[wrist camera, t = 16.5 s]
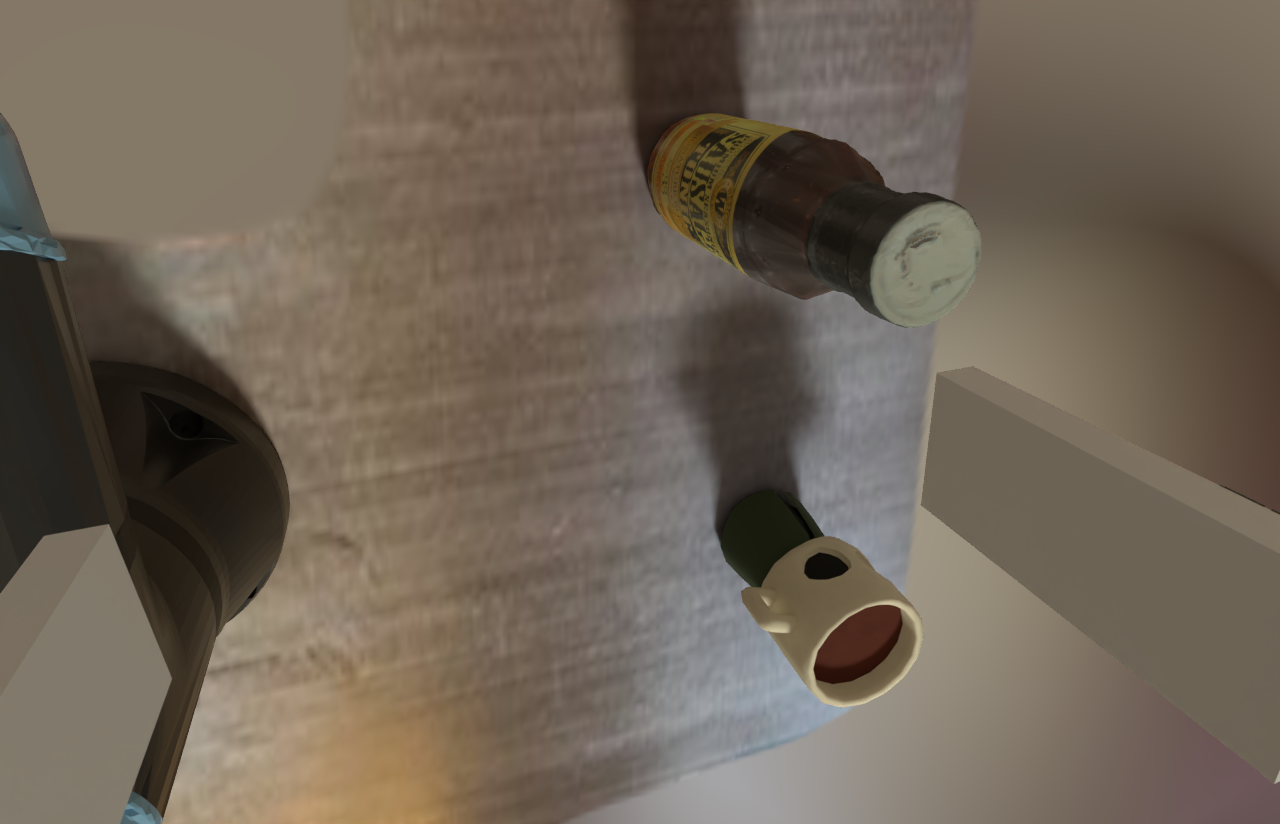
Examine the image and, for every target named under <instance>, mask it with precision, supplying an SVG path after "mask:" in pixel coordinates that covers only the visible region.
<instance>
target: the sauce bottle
mask: <svg viewBox="0 0 1280 824" xmlns="http://www.w3.org/2000/svg"><path fill="white" fill-rule="evenodd" d="M647 173H648V176H647V177H648V185H649V188H650V189H649V191H650V194H651V198H652V200H653V204H654V207H655V209H656V211H657V212H658V213H659V214H660V215H661V216H662V218H663V219H664V220H665V221H666V223H667V224H668V225H669V226H670V227H671V228H672V229H674V230H675V231H677V232H678V233H680V234H681V235H683V236H685V237H686V238H688V239H690V240H691V241H693V242H695V243H696V244H698V245H700V246H701V247H703V248H704V249H706V250H708V251H709V252H711V253H713V254H714V255H716V256H717V257H719V258H721V259H722V260H724V261H726V262H727V263H729V264H730V265H732V266H733V267H735V268H737V269H738V270H740V271H741V272H743V273H744V274H746V275H747V276H749V277H751V278H752V279H754V280H757V281H759V282H762V283H764V284H766V285H769V286H771V287H774V288H776V289H778V290H781V291H783V292H785V293H788V294H790V295H793V296H795V297H797V298H799V299H804V300H807V299H810V298H812V297H815V296H818V295H821V294H824V293H827V292H830V291H833V290H835V291H838V292H844V293H846V294H848V295H850V296H852V297H854V298H855V299H856V301H857V302H858V303H859V304H860V305H861V306H862V307H863V308H864V309H865V310H866V311H868V312H869V313H871V314H873V315H875V316H877V317H879V318H881V319H884V320H886V321H888V322H890V323H893V324H895V325H898V326H902V327H919V326H924V325H927V324H930V323H932V322H934V321H936V320H939V319H940V318H941V317H943V316H944V315H945V314H946V313H948V312H950V311H952V310H953V309H954V308H955V306H956V305H957V304H958V303H959V302H960V301H961V300H962V299H963V298H964V296H965V295H966V293H967V291H968V290H969V289H970V287H971V285H972V284H973V281H974V280H975V276H976V272H977V268H978V265H979V261H980V258H981V252H982V247H981V246H982V245H981V236H980V232H979V228H978V227H977V225H976V223H975V222H974V219H973V217H972V216H971V215H970V214H969V213H968V212H967V210H966V209H965V208H963V207H962V206H961V205H959V204H957V203H956V202H954V201H951V200H948V199H945V198H943V197H940V196H938V195H935V194H931V193H918V192H912V193H905V194H904V193H900V192H895V191H892V190H891V189H889V188H887V187H885V183H884V180H883V177H882V176H881V175H880V173H879V172H878V171H877V170H876V169H875V167H874V166H873V165H872V164H871V162H869V161H868V160H866V159H865V158H863V157H862V156H860V155H859V154H858V152H857V151H856V150H854V149H853V148H852V147H850V146H849V145H848V144H847V143H845V142H841V141H837V140H829V139H826V138H822V137H821V136H819V135H816V134H814V133H811V132H807V131H802V130H798V129H793V128H789V127H783V126H778V125H774V124H769V123H764V122H760V121H755V120H748V119H743V118H739V117H734V116H729V115H725V114H719V113H706V114H695V115H693V116H690V117H687V118H684V119H682V120H681V121H678V122H677V123H675V124H673V125H671V126H670V127H669V128H668V129H667V130H666V131H665V133H664V134H663V135H662V136H661V138H660V140H659V141H658V143H657V144H656V146H655V148H654V151H653V152H652V154H651V156H650V163H649V165H648V168H647Z"/></svg>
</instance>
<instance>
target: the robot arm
mask: <svg viewBox="0 0 1280 824" xmlns="http://www.w3.org/2000/svg"><path fill="white" fill-rule="evenodd" d="M64 260H67V256H66V252H65V249H64V248H63V246H62V245H61V243H60V242H59V241H57V240H56V239H55V238H53V237H52V236H51V234H50V231H49V229H48V226H47V223H46V220H45V217H44V215H43V212H42V209H41V206H40V203H39V200H38V197H37V194H36V191H35V188H34V186H33V183H32V180H31V177H30V174H29V171H28V168H27V165H26V163H25V160H24V156H23V154H22V151H21V148H20V145H19V142H18V140H17V138H16V135H15V133H14V131H13V130H12V128H11V127H10V125H9V123H8V122H7V121H6V119H5V118H4V117H3V116H2V114H1V113H0V824H162V820H163V817H164V814H165V810H166V807H167V803H168V800H169V797H170V793H171V790H172V786H173V783H174V780H175V776H176V773H177V769H178V766H179V762H180V759H181V756H182V752H183V749H184V745H185V742H186V739H187V735H188V732H189V728H190V725H191V722H192V718H193V715H194V711H195V708H196V705H197V701H198V698H199V694H200V691H201V688H202V684H203V681H204V677H205V674H206V670H207V667H208V664H209V660H210V657H211V653H212V650H213V647H214V643H215V639H216V637H217V636H218V635H219V633H220V632H221V631H222V629H223V627H224V625H225V624H226V623H227V622H229V621H230V620H231V619H233V618H234V617H235V616H236V615H237V614H239V613H240V612H241V611H242V610H243V609H244V608H245V607H246V606H247V605H248V604H249V603H250V602H251V601H252V600H253V599H254V598H255V597H256V596H257V594H258V593H259V592H260V591H261V589H262V588H263V587H264V585H265V584H266V582H267V581H268V579H269V577H270V575H271V573H272V572H273V570H274V568H275V566H276V564H277V561H278V559H279V556H280V553H281V550H282V546H283V542H284V538H285V533H286V529H287V525H288V519H289V508H290V501H289V490H288V484H287V480H286V476H285V473H284V470H283V467H282V464H281V462H280V460H279V457H278V456H277V454H276V452H275V450H274V448H273V447H272V445H271V443H270V442H269V440H268V439H267V438H266V436H265V435H264V434H263V432H262V431H261V430H260V429H259V428H258V426H257V425H256V424H255V423H254V422H253V421H252V420H251V419H250V418H249V417H248V416H247V415H246V414H245V413H243V412H242V411H241V410H240V409H239V408H237V407H236V406H235V405H234V404H232V403H231V402H229V401H228V400H227V399H225V398H224V397H222V396H220V395H219V394H217V393H216V392H214V391H212V390H210V389H208V388H207V387H205V386H203V385H201V384H198V383H196V382H194V381H192V380H190V379H187V378H184V377H182V376H179V375H176V374H173V373H170V372H167V371H163V370H160V369H156V368H152V367H147V366H142V365H135V364H128V363H118V362H88V358H87V354H86V351H85V347H84V343H83V340H82V336H81V333H80V329H79V325H78V322H77V318H76V314H75V311H74V307H73V303H72V300H71V296H70V292H69V289H68V285H67V281H66V278H65V274H64V270H63V267H62V263H61V261H64ZM921 505H922V506H923V507H924V508H926V509H927V510H928V511H929V512H931V513H932V514H933V515H934V516H936V517H937V518H938V519H940V520H941V521H942V522H943V523H945V524H946V525H947V526H948V527H950V528H951V529H952V530H953V531H955V532H956V533H957V534H958V535H960V536H961V537H962V538H963V539H965V540H966V541H967V542H969V543H970V544H971V545H972V546H974V547H975V548H976V549H977V550H979V551H980V552H981V553H982V554H984V555H985V556H986V557H988V558H989V559H990V560H991V561H993V562H994V563H995V564H996V565H998V566H999V567H1000V568H1002V569H1003V570H1004V571H1005V572H1007V573H1008V574H1009V575H1010V576H1012V577H1013V578H1014V579H1015V580H1017V581H1018V582H1019V583H1021V584H1022V585H1023V586H1024V587H1026V588H1027V589H1028V590H1029V591H1031V592H1032V593H1033V594H1034V595H1036V596H1037V597H1038V598H1039V599H1041V600H1042V601H1043V602H1045V603H1046V604H1047V605H1048V606H1050V607H1051V608H1052V609H1054V610H1055V611H1056V612H1057V613H1058V614H1060V615H1061V616H1062V617H1064V618H1065V619H1066V620H1067V621H1069V622H1070V623H1071V624H1072V625H1074V626H1075V627H1076V628H1078V629H1079V630H1080V631H1081V632H1083V633H1084V634H1085V635H1086V636H1088V637H1089V638H1090V639H1092V640H1093V641H1094V642H1096V643H1097V644H1098V645H1099V646H1100V647H1102V648H1103V649H1104V650H1105V651H1107V652H1108V653H1109V654H1110V655H1112V656H1113V657H1114V658H1116V659H1117V660H1118V661H1119V662H1121V663H1122V664H1123V665H1124V666H1126V667H1127V668H1128V669H1129V670H1131V671H1132V672H1133V673H1135V674H1136V675H1137V676H1139V677H1140V678H1141V679H1142V680H1144V681H1145V682H1146V683H1147V684H1149V685H1150V686H1151V687H1152V688H1154V689H1155V690H1156V691H1157V692H1159V693H1160V694H1161V695H1162V696H1164V697H1165V698H1166V699H1167V700H1169V701H1170V702H1171V703H1173V704H1174V705H1175V706H1177V707H1178V708H1179V709H1180V710H1182V711H1183V712H1184V713H1185V714H1187V715H1188V716H1189V717H1190V718H1192V719H1193V720H1194V721H1195V722H1197V723H1198V724H1199V725H1200V726H1202V727H1203V728H1204V729H1206V730H1207V731H1208V732H1209V733H1211V734H1212V735H1213V736H1214V737H1216V738H1217V739H1219V741H1221V742H1222V743H1223V744H1225V745H1226V746H1227V747H1228V748H1230V749H1231V750H1232V751H1233V752H1235V753H1236V754H1237V755H1238V756H1240V757H1241V758H1242V759H1244V760H1245V761H1246V762H1247V763H1249V764H1250V765H1251V766H1252V767H1254V768H1255V769H1256V770H1257V771H1259V772H1260V773H1261V774H1263V775H1264V776H1265V777H1266V778H1268V779H1269V780H1270V781H1271V782H1273V783H1274V784H1275V783H1277V782H1280V513H1278V512H1277V511H1274V510H1269V509H1267V508H1265V506H1264V505H1262V504H1260V503H1258V502H1256V501H1254V500H1252V499H1250V498H1247V497H1245V496H1243V495H1241V494H1239V493H1237V492H1235V491H1233V490H1231V489H1229V488H1227V487H1223V486H1221V485H1217V484H1215V483H1213V482H1211V481H1209V480H1207V479H1205V478H1202V477H1201V476H1199V475H1196V474H1194V473H1192V472H1190V471H1188V470H1186V469H1184V468H1182V467H1180V466H1178V465H1176V464H1174V463H1171V462H1170V461H1168V460H1165V459H1163V458H1161V457H1159V456H1157V455H1155V454H1153V453H1151V452H1149V451H1147V450H1145V449H1143V448H1141V447H1138V446H1136V445H1134V444H1132V443H1130V442H1128V441H1126V440H1124V439H1122V438H1120V437H1118V436H1116V435H1114V434H1112V433H1110V432H1108V431H1105V430H1103V429H1101V428H1099V427H1097V426H1095V425H1093V424H1091V423H1089V422H1087V421H1085V420H1083V419H1081V418H1079V417H1076V416H1074V415H1072V414H1070V413H1068V412H1066V411H1064V410H1062V409H1060V408H1058V407H1056V406H1054V405H1051V404H1050V403H1048V402H1045V401H1043V400H1041V399H1039V398H1037V397H1035V396H1033V395H1031V394H1029V393H1027V392H1025V391H1023V390H1021V389H1018V388H1016V387H1014V386H1012V385H1010V384H1008V383H1006V382H1004V381H1002V380H1000V379H998V378H996V377H994V376H991V375H990V374H987V373H985V372H983V371H981V370H979V369H977V368H975V367H973V366H972V367H967V368H962V369H956V370H951V371H945V372H940V373H937V375H936V384H935V392H934V400H933V409H932V417H931V425H930V434H929V442H928V452H927V459H926V467H925V476H924V484H923V493H922V501H921Z"/></svg>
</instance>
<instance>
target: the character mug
mask: <svg viewBox="0 0 1280 824" xmlns="http://www.w3.org/2000/svg"><path fill="white" fill-rule="evenodd" d="M785 493H786V494H787V495H788V497H789V498H790V500H791V501H792V502H793V504H794V505H795V506H796V508H795V507H793V506H792V505H790V504H788V503H786V502H784V501H782V500H781V499H780V497H779V496H778V495H777V494H776V493H775V491H774V490H770V489H768V490H765V491H762V492H759V493H755V494H752V495H750V496H748V497H747V498H746V499H745V500H743V501H742V502H741V503H740V504H738V505H737V506H736V507H734V508H733V510H732V512H731V514H730V516H729V518H728V520H727V522H726V524H725V526H724V529H723V536H722V543H721V549H722V551H723V554H724V557H725V559H726V562H727V563H728V564H729V565H730V566H731V567H732V568H733V569H734V570H735V571H736V572H737V573H738V574H739V576H741V577H742V578H743V579H744V580H745V581H746V582H747V583H748V584H749V585H750V586H751V587H747V588H745V589H744V590H743V591H741V594H742V600H743V603H744V605H745V606H746V608H747V609H748V611H749V612H750V614H751V615H752V616H753V618H754V619H755V621H756V622H757V624H758V625H759V626H760V627H761V628H762V629H763V630H766V631H768V632H769V634H770V635H771V636H772V638H773V639H774V641H775V642H776V644H777V645H778V646H779V648H780V649H781V651H782V652H783V654H784V655H785V657H786V658H787V659H788V661H789V662H790V664H791V665H792V667H793V668H794V669H795V671H796V672H797V674H798V675H799V677H800V678H801V679H802V681H803V682H804V684H805V685H806V686H807V687H808V688H809V690H810V691H811V692H812V693H813V694H814V695H815V696H816V697H817V698H818V699H819V700H820V701H821V702H822V703H825V704H829V705H833V706H837V707H841V708H842V707H848V706H854V705H860V704H864V703H866V702H868V701H870V700H872V699H874V698H876V697H878V696H880V695H882V694H885V693H886V692H887V691H888V690H889V689H891V688H892V687H893V686H894V685H895V684H897V683H898V682H899V681H900V680H901V679H902V678H904V676H905V675H906V674H907V672H908V671H909V669H910V668H911V666H912V665H913V664H914V662H915V660H916V659H917V658H918V655H919V651H920V648H921V644H922V641H923V637H924V635H923V627H922V618H921V617H920V615H919V614H918V612H917V611H916V610H915V608H914V607H913V605H912V604H911V603H910V602H909V601H908V600H907V599H906V598H905V597H904V596H903V595H902V594H901V593H900V592H899V591H898V589H897V588H896V587H895V586H894V585H893V583H892V582H891V581H889V580H888V579H886V578H884V577H883V576H881V575H880V574H879V573H877V572H876V571H875V569H874V568H873V567H872V565H871V564H870V562H869V561H868V559H867V558H866V557H865V556H864V555H863V554H862V553H861V552H860V551H859V550H858V549H857V548H855V547H854V546H852V545H850V544H848V543H846V542H844V541H842V540H840V539H838V538H835V537H831V536H824V535H823V533H822V532H821V530H820V529H819V527H818V526H817V524H816V523H815V521H814V519H813V518H812V517H811V516H810V514H809V513H808V512H807V510H806V509H805V508H804V506H803V505H802V504H801V503H800V502H799V501H798V500H797V499H796V498H795V497H794V496H793V495H791V494H790V493H789V492H785Z"/></svg>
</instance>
